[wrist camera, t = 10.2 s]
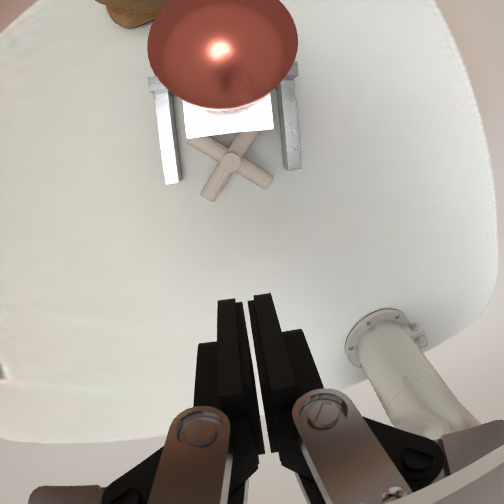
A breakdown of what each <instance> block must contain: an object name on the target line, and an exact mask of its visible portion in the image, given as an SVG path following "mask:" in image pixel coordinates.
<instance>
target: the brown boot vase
mask: <svg viewBox="0 0 504 504" xmlns="http://www.w3.org/2000/svg"><path fill="white" fill-rule="evenodd" d="M95 1H97V2H99V3H101V4H104V5H106V8H107V11H108V13H109V15H110V17H111V18H112V19H113V21H114V22H115V23H116V24H119V25H121V26H122V27H124V28H131V27H135V26H138V25H141V24H144V23H146V22H148V21H151V20H153V19H155V18H156V17H157V15H158V14H159V12H160V11H161V10H162V8H163V7H164V6H165V5H166V4H167V3H168V2H169V1H170V0H95Z"/></svg>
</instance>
